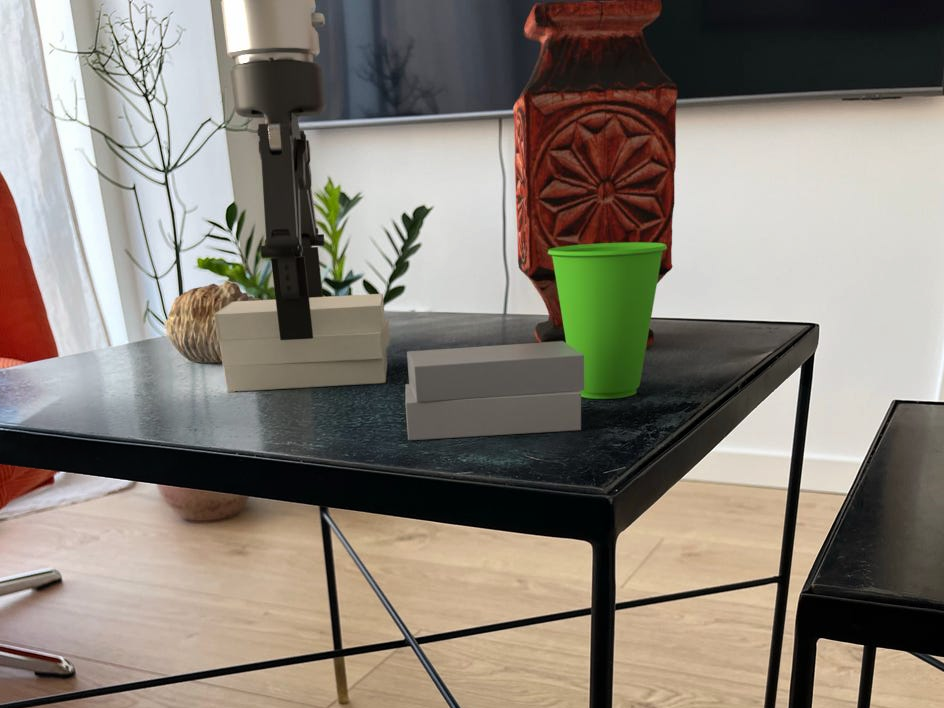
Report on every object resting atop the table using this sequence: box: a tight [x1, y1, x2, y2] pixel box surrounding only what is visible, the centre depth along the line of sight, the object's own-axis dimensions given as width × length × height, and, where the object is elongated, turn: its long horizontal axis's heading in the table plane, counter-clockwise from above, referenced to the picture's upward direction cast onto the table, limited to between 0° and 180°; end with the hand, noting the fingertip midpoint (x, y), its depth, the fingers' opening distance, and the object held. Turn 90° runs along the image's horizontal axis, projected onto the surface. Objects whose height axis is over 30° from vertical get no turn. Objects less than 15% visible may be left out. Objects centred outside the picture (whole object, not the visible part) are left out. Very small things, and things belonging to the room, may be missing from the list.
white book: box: [214, 293, 386, 341], centre depth 92 cm, size 14×10×2 cm
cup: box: [548, 242, 667, 400], centre depth 79 cm, size 9×9×11 cm
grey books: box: [404, 341, 584, 442], centre depth 72 cm, size 12×8×5 cm, turn 94°
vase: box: [512, 0, 679, 349], centre depth 99 cm, size 14×14×30 cm
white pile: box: [219, 317, 391, 393], centre depth 93 cm, size 14×11×4 cm
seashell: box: [163, 280, 262, 364], centre depth 106 cm, size 14×10×10 cm
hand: (304, 328), depth 92 cm, fingers open, 13 cm apart
